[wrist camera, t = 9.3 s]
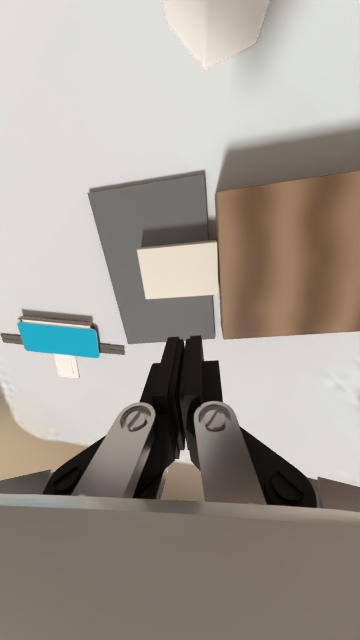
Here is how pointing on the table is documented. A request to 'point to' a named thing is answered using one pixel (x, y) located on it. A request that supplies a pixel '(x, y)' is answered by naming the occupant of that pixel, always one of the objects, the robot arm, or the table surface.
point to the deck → (290, 257)
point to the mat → (144, 231)
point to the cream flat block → (179, 269)
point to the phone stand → (61, 341)
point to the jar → (215, 26)
